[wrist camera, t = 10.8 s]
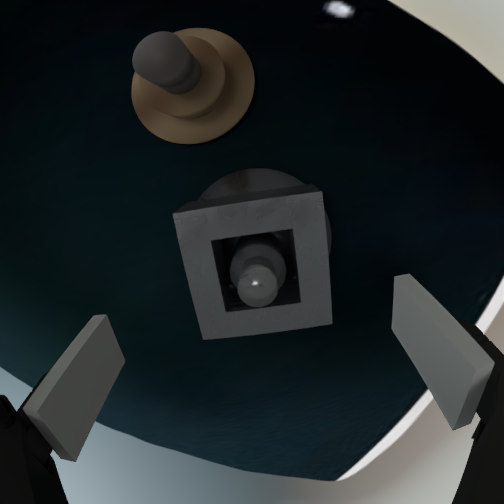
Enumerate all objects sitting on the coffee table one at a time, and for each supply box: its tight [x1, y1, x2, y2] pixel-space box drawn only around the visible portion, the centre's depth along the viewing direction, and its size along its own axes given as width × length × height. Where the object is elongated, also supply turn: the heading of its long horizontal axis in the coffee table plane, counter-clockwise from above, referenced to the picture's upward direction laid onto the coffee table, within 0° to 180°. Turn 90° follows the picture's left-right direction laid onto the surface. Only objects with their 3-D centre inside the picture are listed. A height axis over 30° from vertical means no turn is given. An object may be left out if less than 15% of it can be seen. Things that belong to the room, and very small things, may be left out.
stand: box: [132, 28, 255, 144], centre depth 18 cm, size 10×10×9 cm
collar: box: [173, 184, 332, 340], centre depth 22 cm, size 9×9×4 cm
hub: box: [197, 168, 331, 307], centre depth 22 cm, size 12×12×10 cm
